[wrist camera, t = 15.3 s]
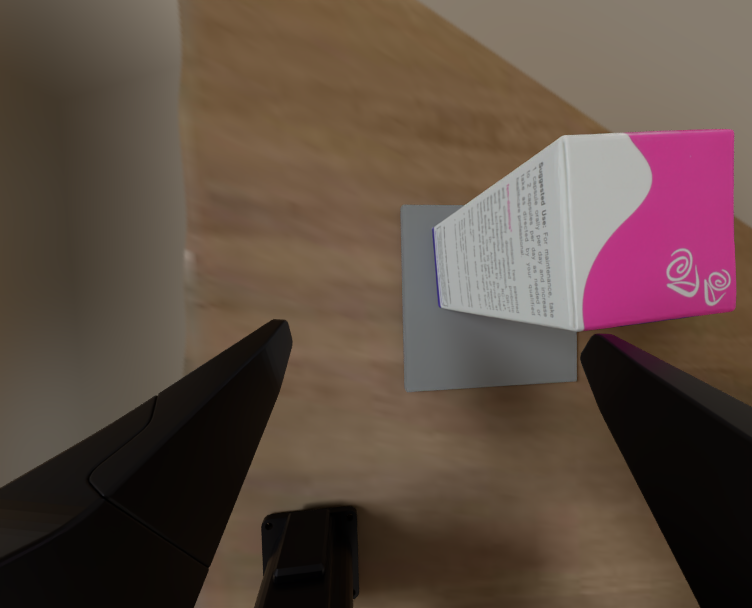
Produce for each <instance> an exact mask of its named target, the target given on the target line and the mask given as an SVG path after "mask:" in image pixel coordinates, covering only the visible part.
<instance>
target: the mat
mask: <svg viewBox="0 0 752 608" xmlns="http://www.w3.org/2000/svg"><path fill="white" fill-rule="evenodd" d="M463 206H465V205H402V207H401V253H402V297H403V342H404V386H405V390H406V391H407V392H415V391H431V390H447V389H462V388H478V387H494V386H509V385H525V384H541V383H556V382H572V381H577V332H575V331H569V330H564V329H558V328H552V327H547V326H541V325H535V324H529V323H523V322H517V321H511V320H506V319H500V318H494V317H487V316H483V315H477V314H471V313H465V312H459V311H454V310H448V309H443V308H440V307H439V306H438V298H437V288H436V273H435V262H434V250H433V241H432V227H435V226H436V225H437V224H439V223H440V222H442V221H443V220H445V219H446V218H448V217H449V216H450V215H452V214H453V213H455V212H456V211H458V210H459V209H460V208H462V207H463Z"/></svg>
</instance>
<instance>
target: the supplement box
mask: <svg viewBox="0 0 752 608" xmlns="http://www.w3.org/2000/svg"><path fill="white" fill-rule="evenodd" d="M733 176H734V132H733V130H730V129H705V130H676V131H675V130H674V131H648V132H626V133H608V134H592V135H564V136H561V137H560V138H559V139H557V140H556V141H555V142H553V143H552V144H551V145H549V146H548V147H546V148H545V149H543V150H542V151H541V152H539V153H538V154H536V155H535V156H534V157H532V158H531V159H529V160H528V161H527V162H525V163H524V164H522V165H521V166H520V167H518V168H517V169H515V170H514V171H513V172H511V173H510V174H508V175H507V176H506V177H504V178H503V179H501V180H500V181H498V182H497V183H495V184H494V185H492V186H491V187H490V188H488V189H487V190H486V191H484V192H483V193H481V194H480V195H479V196H477V197H476V198H474V199H473V200H472V201H470V202H469V203H467V204H466V205H465V206H463V207H462V208H460V209H459V210H458V211H456V212H455V213H453V214H452V215H450V216H449V217H448V218H446V219H445V220H443V221H442V222H440V223H439V224H437V225H436V226H435V227H432V241H433V250H434V262H435V273H436V288H437V298H438V306H439V307H440V308H443V309H448V310H454V311H459V312H465V313H471V314H477V315H483V316H487V317H494V318H500V319H506V320H511V321H517V322H523V323H529V324H535V325H541V326H547V327H552V328H558V329H564V330H569V331H575V332H580V331H588V330H597V329H604V328H612V327H619V326H627V325H634V324H642V323H650V322H656V321H664V320H671V319H679V318H687V317H693V316H701V315H708V314H716V313H725V312H731V311H733V310H734V309H735V307H736V271H735V244H734V211H733V189H734V177H733Z"/></svg>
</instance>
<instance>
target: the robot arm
mask: <svg viewBox="0 0 752 608" xmlns="http://www.w3.org/2000/svg"><path fill="white" fill-rule="evenodd" d="M291 349H292V336H291V332H290V328H289V324H288V322H287V321H286V320H280V319H273V320H271V321H270V322H268V323H266V324H265V325H263V326H262V327H260V328H259V329H257V330H256V331H254V332H253V333H251V334H249V335H248V336H246V337H245V338H243V339H242V340H240V341H239V342H237V343H236V344H234V345H233V346H231V347H229V348H228V349H226V350H225V351H223V352H222V353H220V354H219V355H217V356H216V357H214V358H212V359H211V360H209V361H208V362H206V363H205V364H203V365H202V366H200V367H199V368H197V369H196V370H194V371H192V372H191V373H189V374H188V375H186V376H185V377H183V378H182V379H180V380H179V381H177V382H176V383H174V384H172V385H171V386H169V387H168V388H166V389H165V390H163V391H162V392H160V393H159V394H158V396H154V397H152V398H151V399H149V400H148V401H146V402H145V403H143V404H141V405H140V406H138V407H137V408H135V409H134V410H132V411H130V412H129V413H127V414H126V415H124V416H122V417H121V418H119V419H118V420H116V421H114V422H113V423H111V424H109V425H108V426H106V427H104V428H103V429H101V430H99V431H98V432H96V433H94V434H93V435H91V436H89V437H88V438H86V439H84V440H82V441H81V442H79V443H77V444H76V445H74V446H72V447H70V448H69V449H67V450H65V451H63V452H62V453H60V454H58V455H56V456H55V457H53V458H51V459H49V460H48V461H46V462H44V463H43V464H41V465H39V466H37V467H36V468H34V469H32V470H30V471H29V472H27V473H25V474H24V475H22V476H20V477H18V478H17V479H15V480H13V481H11V482H10V483H8V484H6V485H5V486H3V487H1V488H0V608H194V606H195V603H196V601H197V598H198V596H199V593H200V591H201V588H202V586H203V583H204V581H205V578H206V576H207V573H208V571H209V567H210V565H211V563H212V560H213V558H214V555H215V553H216V550H217V548H218V545H219V543H220V540H221V538H222V535H223V533H224V530H225V528H226V525H227V523H228V520H229V518H230V515H231V513H232V510H233V508H234V505H235V503H236V500H237V498H238V495H239V492H240V490H241V487H242V485H243V482H244V480H245V477H246V475H247V472H248V470H249V467H250V465H251V462H252V460H253V457H254V455H255V452H256V450H257V447H258V445H259V442H260V440H261V437H262V435H263V432H264V430H265V427H266V425H267V422H268V420H269V417H270V415H271V412H272V410H273V407H274V405H275V402H276V400H277V397H278V394H279V392H280V389H281V385H282V382H283V378H284V374H285V371H286V367H287V363H288V360H289V356H290V352H291ZM580 360H581V364H582V366H583V369H584V371H585V374H586V377H587V379H588V382H589V384H590V387H591V390H592V392H593V395H594V397H595V400H596V402H597V405H598V407H599V410H600V412H601V414H602V416H603V418H604V420H605V422H606V424H607V426H608V428H609V430H610V432H611V434H612V436H613V438H614V440H615V442H616V444H617V445H618V447H619V449H620V451H621V453H622V455H623V457H624V459H625V461H626V463H627V465H628V467H629V469H630V471H631V473H632V475H633V477H634V479H635V481H636V483H637V485H638V487H639V488H640V490H641V492H642V494H643V496H644V498H645V500H646V502H647V504H648V506H649V508H650V510H651V512H652V514H653V516H654V518H655V520H656V522H657V524H658V526H659V528H660V530H661V532H662V533H663V535H664V537H665V539H666V541H667V543H668V545H669V547H670V549H671V551H672V553H673V555H674V557H675V559H676V561H677V563H678V565H679V567H680V569H681V571H682V573H683V575H684V576H685V578H686V580H687V582H688V584H689V586H690V588H691V590H692V592H693V594H694V596H695V598H696V600H697V602H698V604H699V606H700V608H752V407H751V406H749V405H747V404H745V403H743V402H741V401H739V400H737V399H735V398H734V397H732V396H730V395H728V394H726V393H724V392H722V391H720V390H718V389H716V388H714V387H712V386H710V385H709V384H707V383H705V382H703V381H701V380H699V379H697V378H695V377H693V376H691V375H689V374H687V373H685V372H684V371H682V370H680V369H678V368H676V367H674V366H672V365H670V364H668V363H666V362H664V361H662V360H660V359H659V358H657V357H655V356H653V355H651V354H649V353H647V352H645V351H643V350H641V349H639V348H637V347H635V346H634V345H632V344H630V343H628V342H626V341H624V340H622V339H620V338H618V337H616V336H614V335H611V334H594V335H593V336H592V337H591V338H590V340H589V341H588V343H587V345H586V346H585V348H584V349H583V351H582V353H581V356H580ZM348 514H352V516H347V515H348ZM267 523H271V524H272V525H268V524H267ZM261 531H262V555H263V580H262V583H261V586H260V590H259V593H258V596H257V600H256V603H255V606H254V608H353V599H355V598H356V597H357V596H358V595H359V573H358V538H357V511H356V509H355V508H354V507H352V506H347V507H337V508H328V509H318V510H309V511H299V512H290V513H281V514H271V515H267V516H266V517H265V518H264V520H263V523H262V526H261ZM353 589H354V590H353Z"/></svg>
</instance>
